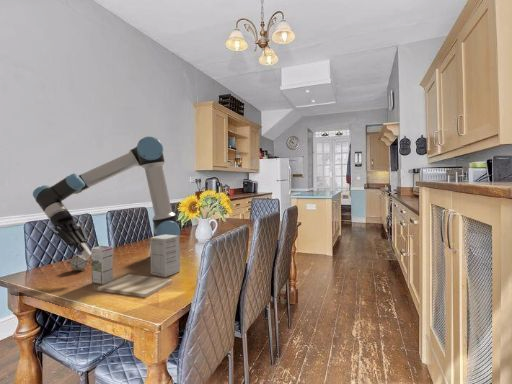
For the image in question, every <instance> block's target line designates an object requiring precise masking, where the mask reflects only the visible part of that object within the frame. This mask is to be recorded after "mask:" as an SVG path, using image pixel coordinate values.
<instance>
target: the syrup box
mask: <svg viewBox="0 0 512 384" xmlns="http://www.w3.org/2000/svg"><path fill="white" fill-rule="evenodd" d="M113 249H114V248H113V246H109V245H99V246H98V245H97V246H95V247H91V249H90V251H91V257H90V258H91V283H92V284H97V285H104V284H107V283H109V282H112V281H114V266H113V265H114V264H113V263H114V262H113V261H114V259H113V257H114V256H113V255H114V254H113Z"/></svg>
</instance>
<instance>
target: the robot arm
mask: <svg viewBox="0 0 512 384" xmlns="http://www.w3.org/2000/svg"><path fill="white" fill-rule="evenodd" d="M165 162H166V161H165V157H164V146H163V144H162V142H161V140H159V138H157V137H154V136H145V137H143V138H141V139H140V140H138V142H137V145H136V146H135V147H133V148H132V149H130V150H129V151H128V153H125V154H123V155H121V156H119V157H116V158H114V159H112V160H110V161H108V162H105V163H103V164H101V165H98V166H96V167H95V168H92V169H90V170H88V171H86V172H83V173H81V174H79V175H78V174H77V173H75V172H74V173H71V174H69V175H67V176H65V178H63V179H61V180H60V181H58V182H56V183H54V184H53V185H51V186H49V185H41V186H38V187H36V188H35V189H34V190H33V191H32V197H33V198H34V200H35V202H36V204H38V206H39V207H40V208H41V209H42V211H43V212H44V214H45V215H46V217H47V218H48V220H49V221H50V222H51V224H52V225H53V226H54V227H55V228H54V229H53V230H52V233H53V234H54V235H56V236H57V237H59V238H60V239H61V240H62V241H63V242H64V243H65V244H66V245H68V247H70V248H72V247H73V249H77V251H78V252H79V253H81V254H83V256H84V257H85V258H86V259H88V260H89V259H90V258H92V257H91V249H90V247H89V245H88V244H87V242H88V241H89V238H88V235H87V233H86V230H85V228H84V224H83V223H80V224H79V223H77V222H76V221H75V220H74V217H73V215H72V214H71V212H69V210H68V208H67V207H66V206H65V204H64V203H63V201H64V200H66V199H67V198H69V197H70V196H72V195H75V194H77V195H78V194H79V193H82V192H83V191H85V190H87V189H89V188H91V187H93V186H95V185H98V184H99V183H103V182H105V181H106V180H108V179H110V178H113V177H114V176H117V175H119V174H121V173H123V172H126V171H128V170H130V169H132V168H134V167H141V168H143V169H144V170H145V177H146V182H147V186H148V189H149V190H148V191H149V196H150V199H151V200H150V201H151V205H152V208H153V209H152V210H153V213H154V216H153V218H152V223H153V224H152V225H153V229H152V230H153V235H152V237H155V236H160V235H165V234H166V235H176V236H179V237H180V233H181V228H180V226H179V224H178V220H177V214H176V213H175V212H174V211H173V210H172V206H171V201H170V196H169V192H168V191H169V190H168V186H167V182H166V177H165V176H166V175H165V172H164V169H163V167H164V164H165ZM149 256H150V258H151V251H150V252H149Z"/></svg>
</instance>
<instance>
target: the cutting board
mask: <svg viewBox="0 0 512 384" xmlns="http://www.w3.org/2000/svg"><path fill="white" fill-rule="evenodd" d="M172 283H173V279H170V278H164V277H153V276H144V275H139V274H138V275H136V274H130V273H129V274H126V275H124V276H121V277H119V278H116V279H115V280H114V279H113V280H112V281H110V282H108V283H105V284H101V285H100V286H97V292H98V291H99V292H106V293H113V294H121V295H124V296H134V297H138V298H139V297H140V298H144V299H145V298H148V297H150V296H151V295H153V294H155V293H157V292H158V291H160V290H162V289H164V288H165V287H167V286H169V285H170V284H172Z"/></svg>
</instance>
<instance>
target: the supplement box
mask: <svg viewBox="0 0 512 384" xmlns="http://www.w3.org/2000/svg"><path fill="white" fill-rule="evenodd" d="M149 241H150V242H149V244H150V246H149V247H150V248H149V249H150V252H151V257H150V275H152V276H153V275H154V276H157V277H161V278H168V277H169V276H172V275H174V274H177V272H178V273H180V272H181V263H180V262H181V257H180V255H181V254H180V251H181V250H180V243H181V242H180V235H179V236H176V235H166V234H165V235H160V236H155V237H153V236H151V237H150V238H149Z"/></svg>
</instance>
